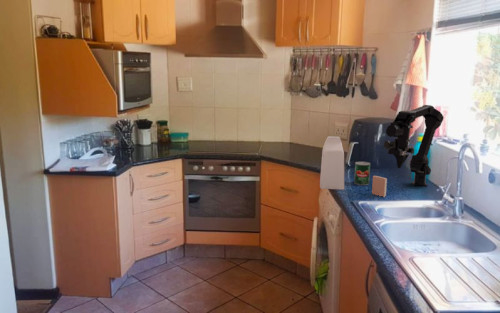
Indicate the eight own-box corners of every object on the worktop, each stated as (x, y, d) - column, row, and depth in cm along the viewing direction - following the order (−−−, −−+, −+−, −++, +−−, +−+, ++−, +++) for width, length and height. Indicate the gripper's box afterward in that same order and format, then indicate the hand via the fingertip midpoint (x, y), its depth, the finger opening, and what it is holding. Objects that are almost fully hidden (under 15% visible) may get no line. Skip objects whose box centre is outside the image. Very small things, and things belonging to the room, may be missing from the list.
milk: (320, 188, 227) (321, 138, 222) (319, 182, 238) (321, 134, 233) (344, 189, 226) (346, 138, 220) (342, 183, 237) (344, 135, 231)
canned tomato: (358, 185, 233) (359, 165, 230) (351, 181, 240) (352, 162, 238) (372, 184, 235) (373, 164, 233) (364, 180, 242) (365, 161, 240)
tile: (373, 193, 219) (375, 175, 217) (385, 196, 213) (386, 178, 212) (371, 193, 218) (373, 176, 216) (383, 197, 213) (384, 178, 211)
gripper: (395, 134, 232) (391, 163, 234) (379, 135, 218) (375, 166, 220) (416, 137, 225) (412, 167, 227) (401, 138, 211) (397, 170, 213)
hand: (399, 167), depth 222 cm, fingers closed
